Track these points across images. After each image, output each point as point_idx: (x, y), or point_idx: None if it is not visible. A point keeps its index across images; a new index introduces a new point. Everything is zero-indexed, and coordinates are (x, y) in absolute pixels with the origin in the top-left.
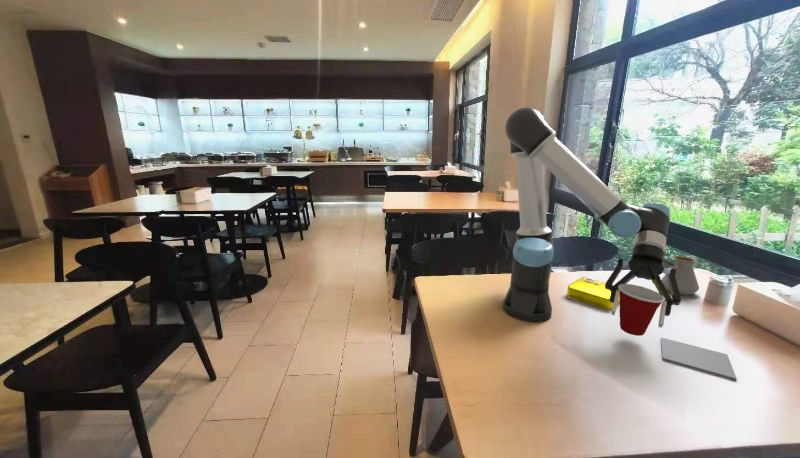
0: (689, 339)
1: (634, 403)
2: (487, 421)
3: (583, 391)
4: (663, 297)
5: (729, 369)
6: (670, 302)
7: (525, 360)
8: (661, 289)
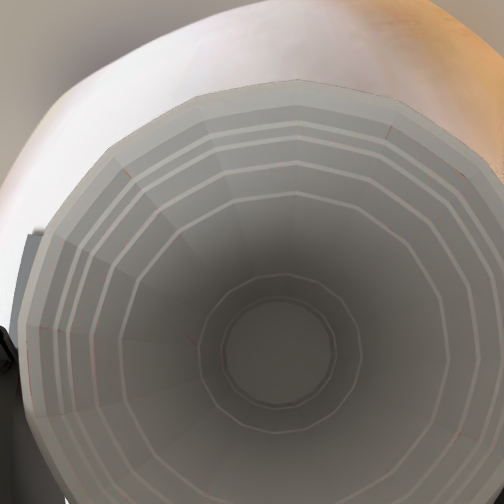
0: None
1: (276, 46)
2: (420, 5)
3: (361, 46)
4: (25, 362)
5: (23, 277)
6: (10, 353)
7: (473, 97)
8: (5, 483)
